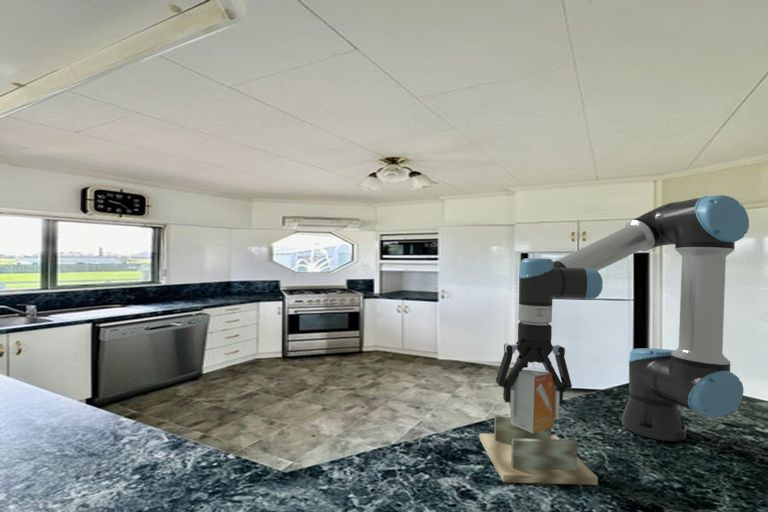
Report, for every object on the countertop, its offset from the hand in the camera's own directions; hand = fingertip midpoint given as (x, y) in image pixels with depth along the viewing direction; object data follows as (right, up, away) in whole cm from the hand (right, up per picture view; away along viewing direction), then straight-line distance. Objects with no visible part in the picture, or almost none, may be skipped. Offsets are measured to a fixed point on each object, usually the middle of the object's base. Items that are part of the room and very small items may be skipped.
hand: (532, 416), depth 91 cm
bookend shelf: (0, -10, 0) cm, 10 cm away
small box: (0, -2, 0) cm, 2 cm away
